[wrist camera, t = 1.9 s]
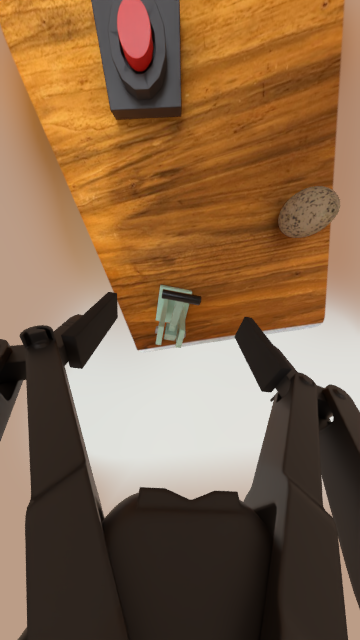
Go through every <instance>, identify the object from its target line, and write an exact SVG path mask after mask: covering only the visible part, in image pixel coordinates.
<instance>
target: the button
mask: <svg viewBox="0 0 360 640" xmlns="http://www.w3.org/2000/svg"><path fill="white" fill-rule="evenodd" d="M117 29H118V35H119V39H120V42H121V45H122V48H123V51H124V54H125V57H126V60H127V62H128V63H129V65H130V66H131V67H132V68H133V69H134V70H135V71H138V72H143V71H145V70H146V69H147V68H148V67H149V65H150V63H151V60H152V56H153V39H152V32H151V25H150V20H149V16H148V13H147V10H146V8H145V6H144V4H143V3H142V1H141V0H122V2H121V4H120V6H119V10H118V15H117Z"/></svg>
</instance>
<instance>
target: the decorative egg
mask: <svg viewBox="0 0 360 640" xmlns="http://www.w3.org/2000/svg"><path fill="white" fill-rule="evenodd" d="M339 208H340V200H339V197H338V195H337V194H336V193H335V192H334V191H333V190H332V189H330V188H327V187H323V186H314V187H309V188H306V189H304V190H302V191H300V192H298V193H296V194H295V195H294V196H292V197H291V198H290V199H289V200H288V201H287V202H286V203H285V205H284V206H283V208H282V210H281V212H280V214H279V218H278V225H279V228H280V230H281V231H282V233H284V234H285V235H286V236H289V237H293V238H301V237H306V236H310V235H312V234H315V233H317V232H318V231H320V230H322V229H323V228H325V227H326V226H327V225H328V224H329V223H330V222H331V221H332V220H333V219H334V218H335V216H336V215H337V213H338V211H339Z"/></svg>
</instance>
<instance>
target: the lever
mask: <svg viewBox="0 0 360 640" xmlns="http://www.w3.org/2000/svg"><path fill="white" fill-rule="evenodd" d="M162 299H168V300H173V301H176V302H175V306H174V310H173V314H172V317H171V321H170V323H167V324H166V329H165V335H164V339H167V340H175V338H176V335H177V327H178V325H177V322H178V320H179V317H180V314H181V311H182V309H183V306H184V303H189V304H195V305H200V303H201V296H197V295H192V294H187V293H182V292H176V291H171V290H166V289H163V291H162Z"/></svg>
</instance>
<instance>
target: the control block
mask: <svg viewBox="0 0 360 640" xmlns="http://www.w3.org/2000/svg"><path fill="white" fill-rule="evenodd" d="M141 1H142V3H143V4H144V6H145V8H146V10H147V13H148V16H149V20H150V25H151V32H152V39H153V56H152V60H151V63H150V65H149V67H148V68H147V69H146V70H145V71H143V72H138V71H135V70H134V69H133V68H132V67H131V66H130V65H129V63H128V62H127V60H126V57H125V54H124V51H123V48H122V45H121V42H120V39H119V35H118V29H117V15H118V10H119V6H120V4H121V2H122V0H91V2H92V7H93V13H94V19H95V24H96V30H97V36H98V41H99V47H100V53H101V58H102V64H103V70H104V75H105V81H106V87H107V92H108V98H109V104H110V109H111V112H112V113H113V115H114V117H115V118H116V120H117V119H138V118H158V117H178V116H181V65H180V3H179V0H141Z"/></svg>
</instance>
